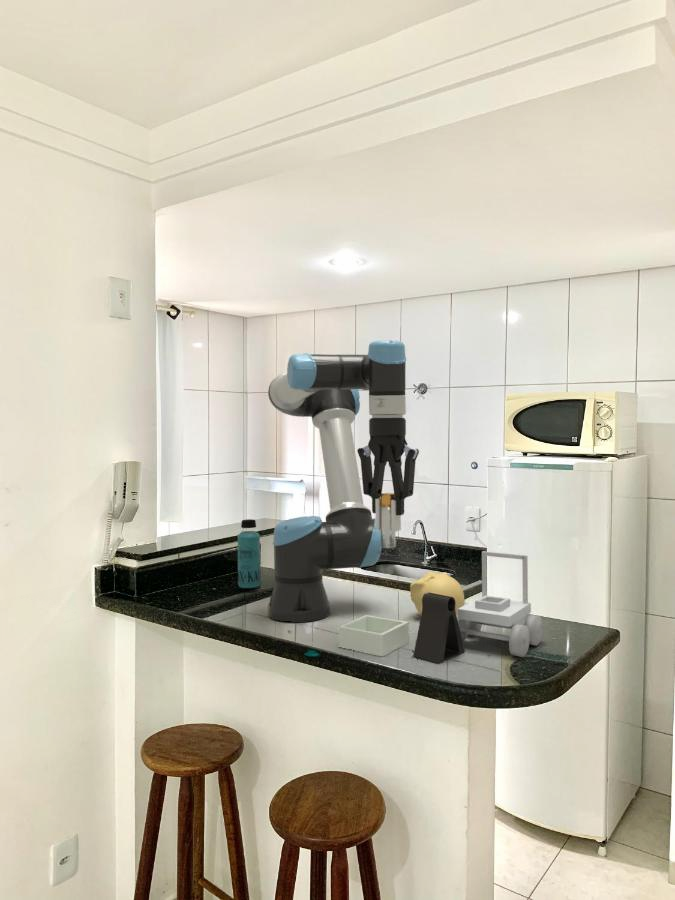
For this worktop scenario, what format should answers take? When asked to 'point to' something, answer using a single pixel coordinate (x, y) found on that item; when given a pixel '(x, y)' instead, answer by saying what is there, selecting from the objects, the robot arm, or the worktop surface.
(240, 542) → the beverage bottle
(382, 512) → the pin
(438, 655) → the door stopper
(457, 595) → the yellow rounded lump
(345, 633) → the tray
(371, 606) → the worktop surface
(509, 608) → the trolley
